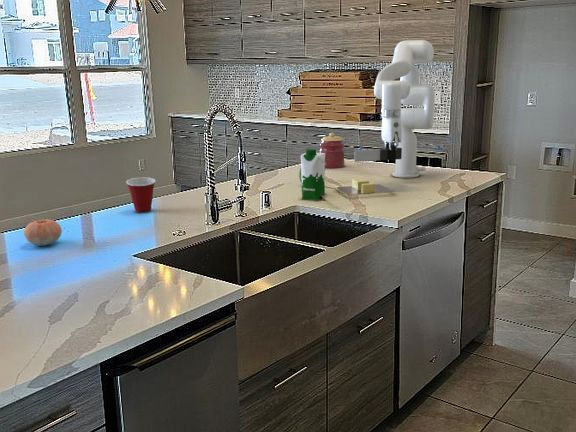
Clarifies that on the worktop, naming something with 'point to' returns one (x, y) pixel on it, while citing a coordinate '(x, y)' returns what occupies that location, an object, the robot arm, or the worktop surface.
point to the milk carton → (313, 175)
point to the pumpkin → (42, 232)
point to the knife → (375, 154)
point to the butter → (359, 183)
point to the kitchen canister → (333, 151)
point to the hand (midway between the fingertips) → (390, 158)
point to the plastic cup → (141, 193)
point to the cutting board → (352, 191)
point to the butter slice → (368, 188)
